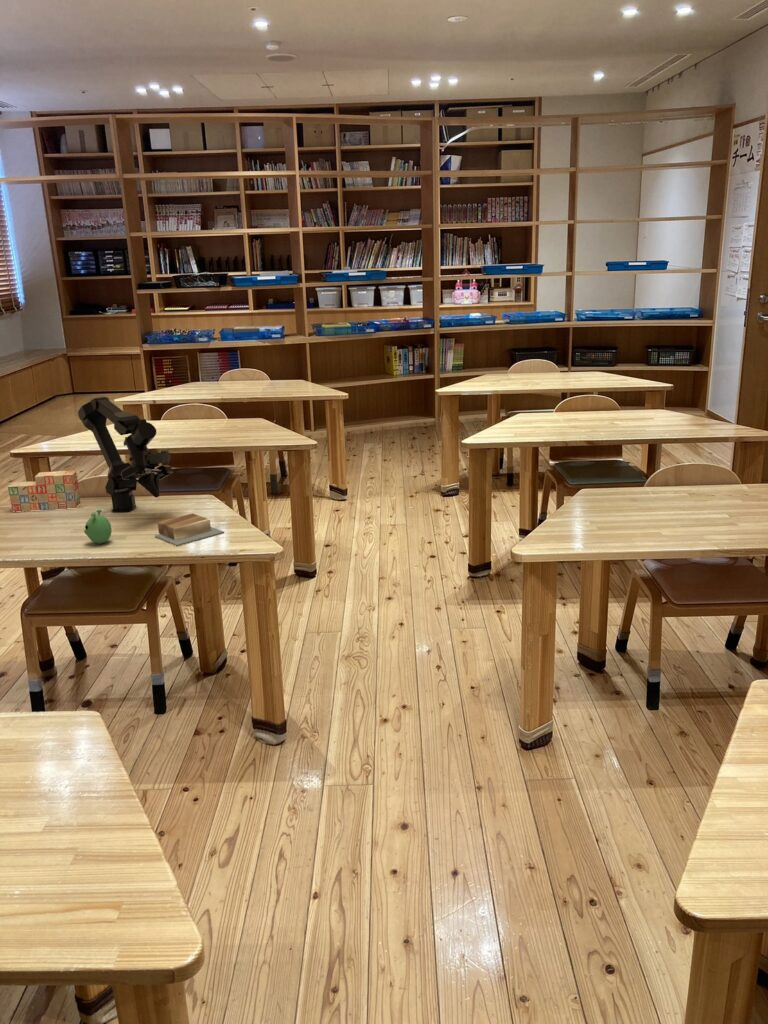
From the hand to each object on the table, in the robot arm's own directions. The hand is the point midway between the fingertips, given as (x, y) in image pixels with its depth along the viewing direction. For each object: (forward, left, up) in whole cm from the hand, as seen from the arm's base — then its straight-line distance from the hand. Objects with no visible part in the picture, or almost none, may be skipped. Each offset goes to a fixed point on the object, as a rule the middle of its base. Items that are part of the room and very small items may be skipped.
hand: (157, 496), depth 253 cm
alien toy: (-12, -19, -9) cm, 24 cm away
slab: (+8, -7, -7) cm, 12 cm away
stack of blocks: (-46, +19, -9) cm, 51 cm away
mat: (+13, -12, -9) cm, 20 cm away
